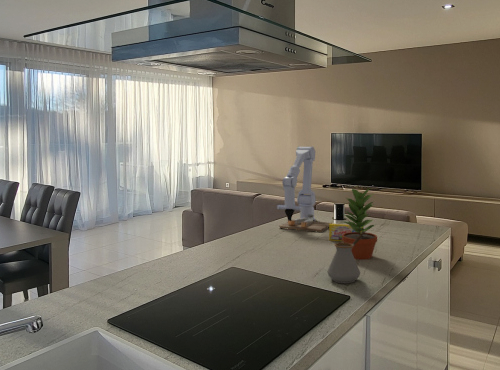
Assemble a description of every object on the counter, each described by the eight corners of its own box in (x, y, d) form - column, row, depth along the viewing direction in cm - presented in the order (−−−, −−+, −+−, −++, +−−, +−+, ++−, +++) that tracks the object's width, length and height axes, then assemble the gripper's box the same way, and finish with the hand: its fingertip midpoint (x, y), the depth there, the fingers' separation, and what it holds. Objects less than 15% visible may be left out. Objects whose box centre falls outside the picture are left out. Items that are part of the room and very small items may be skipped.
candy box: (328, 241, 219) (328, 224, 218) (329, 240, 221) (329, 223, 220) (363, 242, 214) (363, 225, 213) (363, 241, 216) (363, 224, 215)
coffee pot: (350, 287, 153) (350, 244, 151) (321, 280, 160) (321, 239, 159) (378, 272, 169) (378, 233, 167) (350, 266, 176) (351, 229, 175)
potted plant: (338, 251, 199) (339, 183, 195) (374, 251, 197) (375, 183, 194) (341, 261, 184) (342, 188, 181) (380, 261, 182) (381, 187, 179)
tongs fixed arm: (308, 221, 260) (308, 214, 259) (315, 221, 258) (315, 214, 257) (297, 226, 244) (297, 219, 244) (304, 227, 243) (304, 220, 242)
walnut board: (292, 222, 265) (292, 219, 265) (332, 225, 254) (332, 222, 254) (279, 228, 248) (279, 225, 248) (321, 232, 237) (321, 229, 237)
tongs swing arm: (304, 221, 257) (304, 217, 257) (307, 222, 256) (307, 217, 256) (288, 224, 249) (288, 220, 249) (290, 225, 248) (290, 220, 247)
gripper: (274, 198, 249) (274, 222, 251) (299, 200, 243) (299, 224, 244) (279, 196, 256) (280, 220, 257) (303, 198, 249) (303, 222, 250)
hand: (289, 222), depth 251 cm, fingers closed
